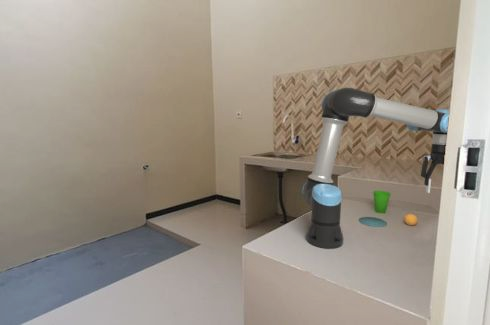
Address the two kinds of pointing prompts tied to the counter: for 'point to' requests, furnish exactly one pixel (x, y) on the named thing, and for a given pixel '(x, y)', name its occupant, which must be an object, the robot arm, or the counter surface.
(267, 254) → the counter surface
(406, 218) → the ball
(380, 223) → the teal ellipsoid
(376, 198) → the green tapered cylinder
